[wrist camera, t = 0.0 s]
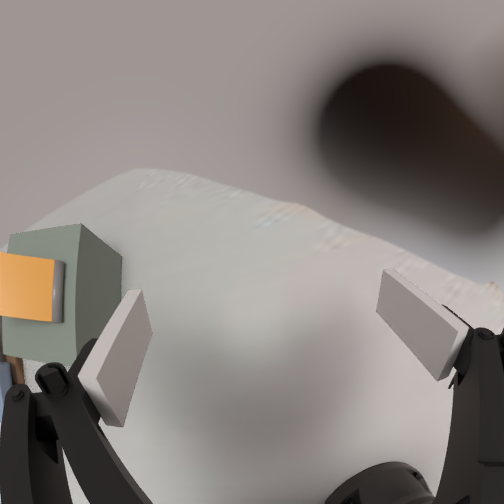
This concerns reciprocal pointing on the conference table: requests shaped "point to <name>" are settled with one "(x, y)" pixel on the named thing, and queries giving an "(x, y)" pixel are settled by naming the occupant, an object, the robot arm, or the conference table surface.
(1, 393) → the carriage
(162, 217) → the conference table surface
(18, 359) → the rail
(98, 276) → the gauge cabinet
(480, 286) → the conference table surface
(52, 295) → the orange slab
